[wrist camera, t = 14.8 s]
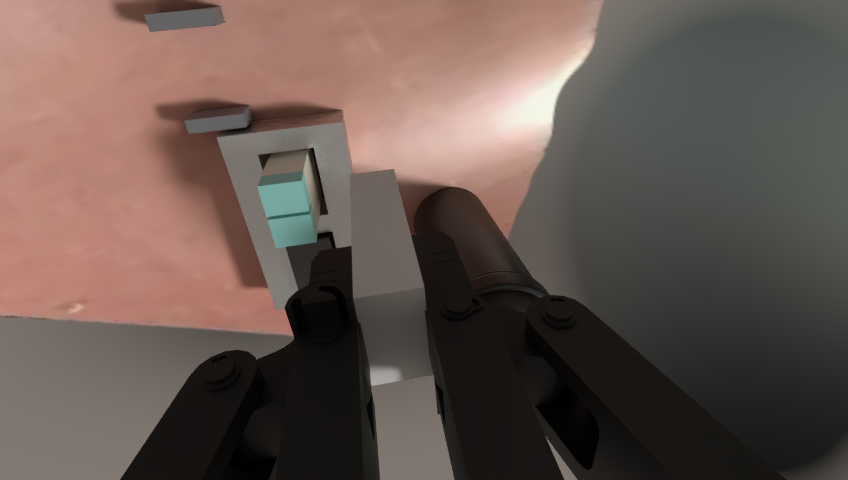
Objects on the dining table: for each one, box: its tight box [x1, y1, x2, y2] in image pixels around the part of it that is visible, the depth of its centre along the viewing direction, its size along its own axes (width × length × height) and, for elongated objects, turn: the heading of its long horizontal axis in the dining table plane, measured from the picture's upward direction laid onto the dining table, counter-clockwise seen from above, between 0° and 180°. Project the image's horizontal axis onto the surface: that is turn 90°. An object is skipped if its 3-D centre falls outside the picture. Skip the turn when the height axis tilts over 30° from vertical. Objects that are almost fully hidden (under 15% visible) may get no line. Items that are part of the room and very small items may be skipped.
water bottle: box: [414, 188, 549, 312], centre depth 40 cm, size 10×10×23 cm
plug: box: [257, 148, 322, 248], centre depth 40 cm, size 6×4×10 cm, turn 4°
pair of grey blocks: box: [144, 6, 253, 134], centre depth 37 cm, size 9×5×3 cm, turn 5°
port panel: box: [216, 110, 354, 310], centre depth 44 cm, size 20×11×5 cm, turn 5°
